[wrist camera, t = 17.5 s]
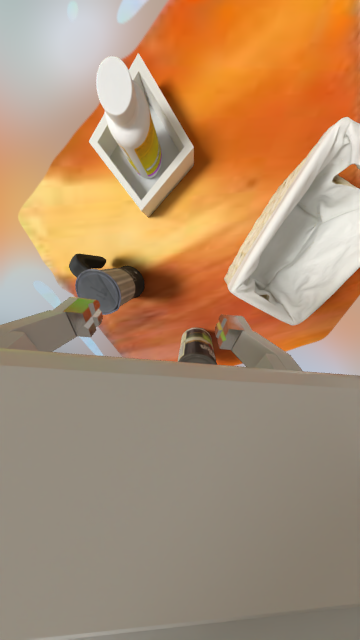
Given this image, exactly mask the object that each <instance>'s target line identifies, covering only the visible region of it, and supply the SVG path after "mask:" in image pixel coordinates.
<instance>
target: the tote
mask: <svg viewBox="0 0 360 640" xmlns="http://www.w3.org/2000/svg"><path fill="white" fill-rule="evenodd" d="M129 73H130V75H131V78H132V80H133V81H134V82H136V83H137V84H138V86H139V87H140V88H141V90H142V92H143V93H144V95H145V98H146V101H147V104H148V107H149V110H150V114H151V117H152V120H153V124H154V127H155V130H156V134H157V137H158V140H159V143H160V147H161V151H162V164H161V167H160V170H159V171H158V173H157V174H156V175H155V176H154V177H152V178H143V177H141V176H140V175H139V174H138V173H137V172H136V171H135V170H134V168H133V167H132V165H131V164H130V162H129V160H128V159H127V157H126V156H125V154H124V153H123V151H122V150H121V148H120V147H119V145H118V144H117V142H116V141H115V139H114V137H113V136H112V134H111V132H110V130H109V128H108V125H107V121H106V117H105V113H104V115H103V117H102V119H101V121H100V122H99V124H98V126H97V128H96V129H95V131H94V133H93V135H92V137H91V138H90V140H89V143H90V144H91V145H92V147H93V148H94V149H95V151H96V152H97V153H98V154H99V156H100V157H101V158H102V160H103V161H104V162H105V164H106V165H107V166H108V168H109V169H110V170H111V171H112V173H113V174H114V175H115V177H116V178H117V179H118V181H119V182H120V183H121V185H122V186H123V187H124V189H125V190H126V191H127V192H128V194H129V195H130V196H131V198H132V199H133V200H134V202H135V203H136V204H137V206H138V207H139V208H140V210H141V211H142V212H143V213H144V214H145V215H146V216H147V217H148V218H149V217H150V216H151V215H152V213H153V212H154V211H155V210H156V209H157V208H158V206H159V205H160V204H161V203H162V202H163V201H164V199H165V198H166V197H167V196H168V195H169V194H170V193H171V191H172V190H173V189H174V188H175V187H176V186H177V184H178V183H179V182H180V181H181V180H182V179H183V177H184V176H185V175H186V174H187V173H188V172H189V170H190V169H191V168H192V167H193V166H194V147H193V145H192V143H191V141H190V140H189V138H188V136H187V135H186V133H185V131H184V130H183V128H182V126H181V124H180V123H179V121H178V119H177V118H176V116H175V114H174V113H173V111H172V109H171V107H170V106H169V104H168V102H167V101H166V99H165V97H164V96H163V94H162V92H161V90H160V89H159V87H158V85H157V84H156V82H155V80H154V79H153V77H152V75H151V73H150V72H149V70H148V68H147V67H146V65H145V63H144V62H143V60H142V58H141V56H140V55H139V53H138V55H137V56H136V58H135V60H134V62H133V64H132V65H131V67H130V69H129Z"/></svg>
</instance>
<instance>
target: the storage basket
mask: <svg viewBox="0 0 360 640" xmlns="http://www.w3.org/2000/svg"><path fill="white" fill-rule="evenodd" d="M351 164H355V165H357V168H358V169H360V124H359V123H357V122H355V121H353V120H351V119H350V118H349V117H344V118H342V119H340V120H339V121H338V122H337V123H336V124H335V125H333V126H331V127H330V128H329V129H328V130H327V131H326V132H325V133H324V135H323V136H322V137H321V138H320V140H319V141H318V143H317V144H316V145H315V146H314V147H313V149H312V150H311V151H310V152H309V154H308V156H307V157H306V158H305V159H304V160H303V161H302V162H301V164H299V165H298V166H297V167H296V169H295V170H294V171H293V172H292V173H291V174H290V175H289V176H288V178H287V179H286V180H285V181H284V182H283V183H282V185H280V186H279V188H278V189H277V191H276V192H275V193H274V195H273V196H272V197H271V199H270V201H269V203H268V205H267V206H266V207H265V209H264V210H263V212H262V214H261V216H260V217H259V218H258V219H257V221H256V222H255V224H254V226H253V228H252V230H251V231H250V233H249V234H248V236H247V237H246V239H245V241H244V243H243V244H242V246H241V247H240V249H239V252H238V254H237V255H236V257H235V259H234V261H233V263H232V264H231V265H230V267H229V269H228V273H227V274H226V276H225V278H224V280H225V282H226V283H227V285H228V289H229V291H230V292H231V293H232V294H234V295H235V296H237V297H238V298H240V299H242V300H244V301H245V302H247V303H249V304H251V305H253V306H254V307H256V308H258V309H260V310H262V311H264V312H266V313H268V314H270V315H271V316H273V317H275V318H277V319H279V320H281V321H283V322H285V323H288V324H290V325H297V324H299V323H301V322H303V321H304V320H306V319H307V318H308V317H309V316H310V315H311V314H312V313H313V312H315V311H316V310H317V309H318V308H319V307H320V306H321V305H322V304H323V303H324V302H325V301H326V300H327V299H329V298H330V297H331V296H332V295H333V294H334V293H335V292H336V291H337V290H338V289H339V288H340V287H341V286H342V284H343V283H344V282H345V281H346V280H347V279H348V278H349V277H350V276H351V275H352V274H353V273H354V272H355V271H356V270H357V269H358V268H359V267H360V189H359V188H357V187H355V186H354V185H352V184H350V183H349V182H348V181H346V180H344V179H343V178H342V177H340V176H339V175H338V174H339V173H340V172H341V171H343V170H344V169H345V168H347V167H348V166H349V165H351Z"/></svg>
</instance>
